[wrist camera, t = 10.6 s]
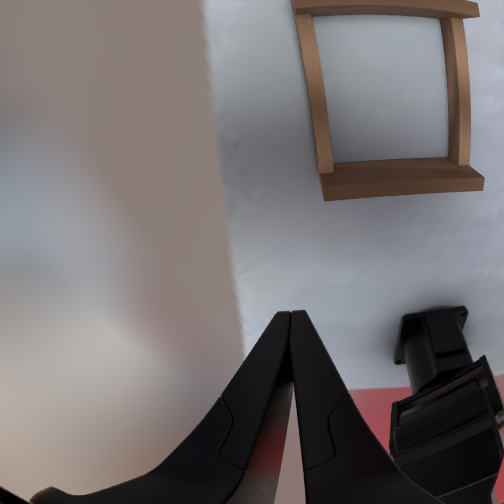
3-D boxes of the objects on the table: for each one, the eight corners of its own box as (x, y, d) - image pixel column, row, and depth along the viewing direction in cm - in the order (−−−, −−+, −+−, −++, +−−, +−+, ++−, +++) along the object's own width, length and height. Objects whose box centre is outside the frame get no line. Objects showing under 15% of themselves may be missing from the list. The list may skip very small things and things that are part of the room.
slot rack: (458, 168, 17) (482, 190, 14) (319, 177, 19) (324, 201, 16) (410, -113, 6) (427, -134, 3) (258, -117, 8) (251, -143, 5)
